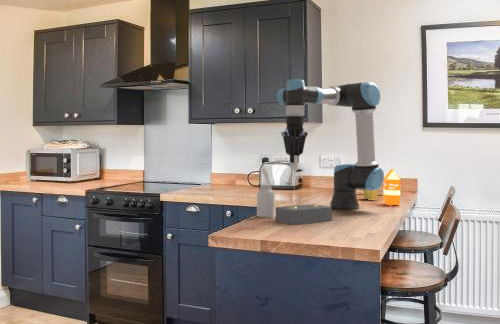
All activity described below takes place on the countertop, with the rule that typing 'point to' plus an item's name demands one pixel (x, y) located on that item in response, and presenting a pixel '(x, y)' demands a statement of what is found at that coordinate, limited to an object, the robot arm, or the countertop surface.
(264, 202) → the pill bottle
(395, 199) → the orange juice
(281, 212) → the block
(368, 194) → the plant pot
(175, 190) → the countertop surface
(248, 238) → the countertop surface
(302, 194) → the countertop surface
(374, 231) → the countertop surface
